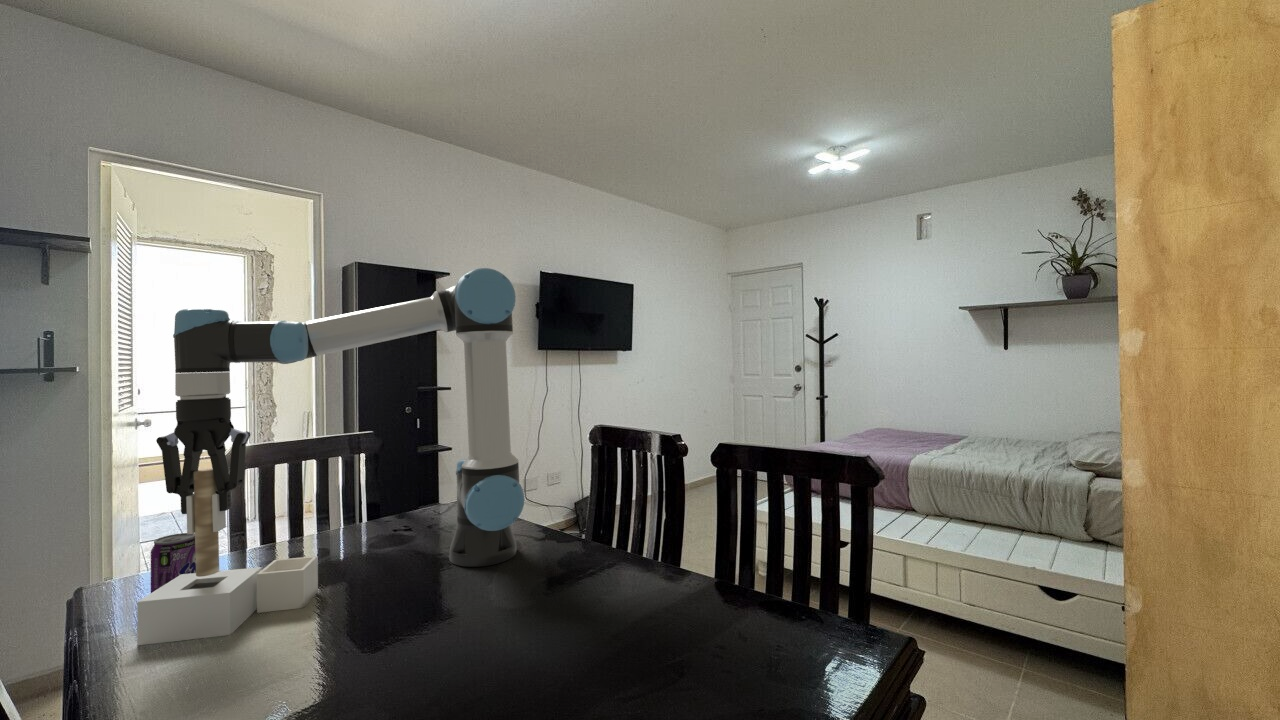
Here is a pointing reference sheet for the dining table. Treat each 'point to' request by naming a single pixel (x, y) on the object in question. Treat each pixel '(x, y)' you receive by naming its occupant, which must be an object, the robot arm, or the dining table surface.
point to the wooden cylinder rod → (205, 524)
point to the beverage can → (172, 558)
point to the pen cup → (287, 584)
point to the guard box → (197, 606)
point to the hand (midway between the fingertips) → (206, 530)
